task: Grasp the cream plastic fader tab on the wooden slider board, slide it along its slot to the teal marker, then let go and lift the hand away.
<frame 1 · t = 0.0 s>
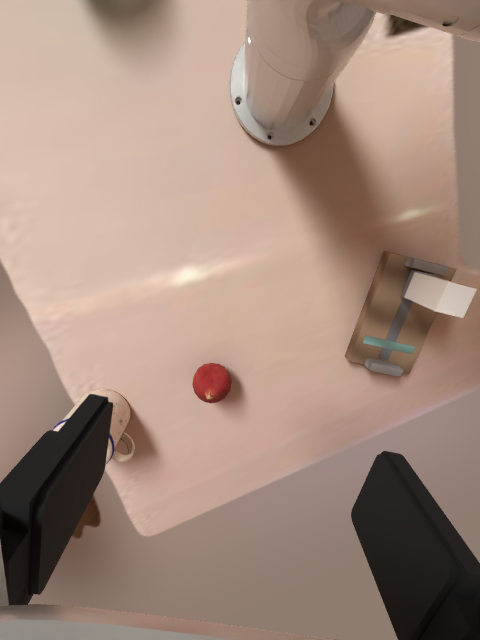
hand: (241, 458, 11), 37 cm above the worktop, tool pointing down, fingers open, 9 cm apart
fader: (433, 292, 40), point 7 cm above the worktop, slide at -5.0 cm
onion: (213, 370, 51), on the worktop
teacup with lid: (113, 414, 53), on the worktop
wooden slider board: (393, 313, 48), on the worktop
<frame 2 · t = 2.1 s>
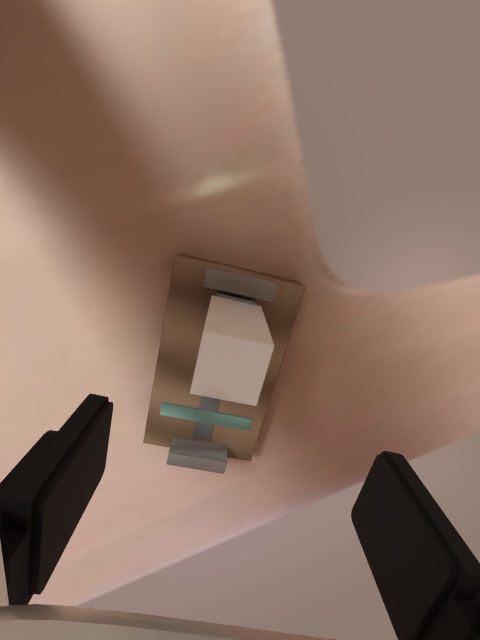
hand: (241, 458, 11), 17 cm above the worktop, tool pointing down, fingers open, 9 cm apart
fader: (230, 338, 20), point 7 cm above the worktop, slide at -5.0 cm
wooden slider board: (218, 360, 28), on the worktop
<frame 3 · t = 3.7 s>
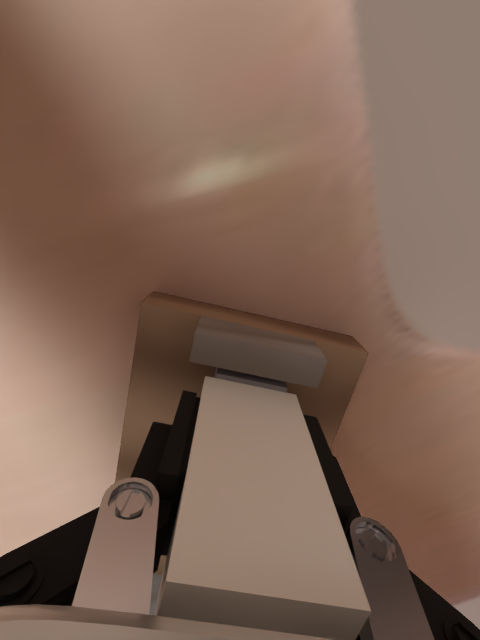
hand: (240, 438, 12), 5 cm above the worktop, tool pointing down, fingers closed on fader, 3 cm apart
fader: (241, 477, 10), point 7 cm above the worktop, slide at -5.0 cm, touching gripper
wooden slider board: (218, 453, 18), on the worktop
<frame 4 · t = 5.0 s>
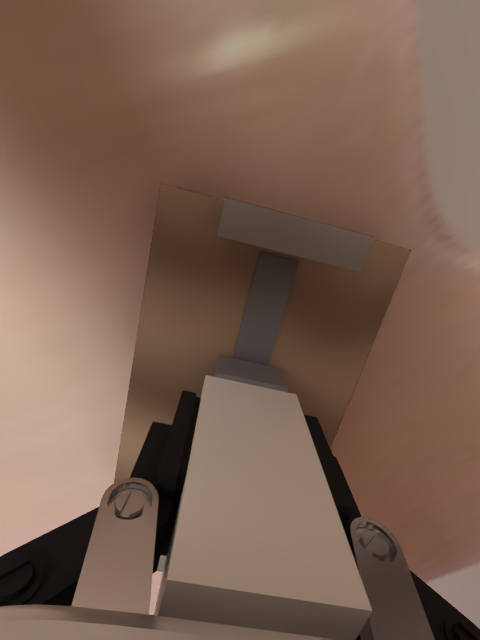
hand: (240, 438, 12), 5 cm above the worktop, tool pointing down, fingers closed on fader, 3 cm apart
fader: (241, 476, 10), point 7 cm above the worktop, slide at -0.4 cm, touching gripper
wooden slider board: (237, 383, 16), on the worktop
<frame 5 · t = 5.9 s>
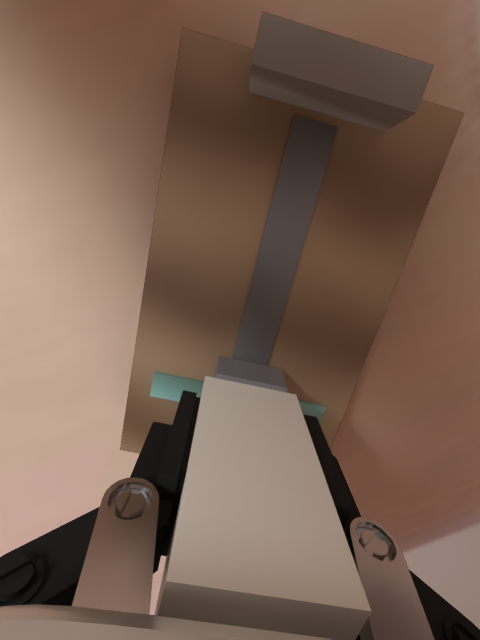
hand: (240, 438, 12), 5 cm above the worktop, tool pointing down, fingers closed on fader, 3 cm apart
fader: (241, 477, 10), point 7 cm above the worktop, slide at 4.4 cm, touching gripper
wooden slider board: (260, 297, 15), on the worktop
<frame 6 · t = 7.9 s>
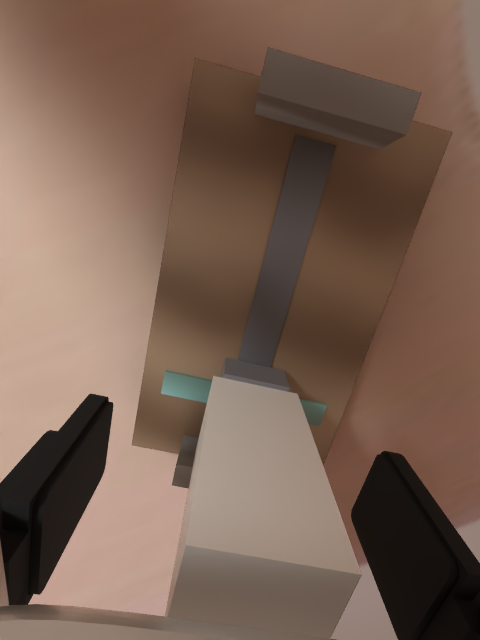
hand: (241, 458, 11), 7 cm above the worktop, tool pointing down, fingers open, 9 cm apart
fader: (247, 468, 11), point 7 cm above the worktop, slide at 4.5 cm
wooden slider board: (264, 301, 16), on the worktop
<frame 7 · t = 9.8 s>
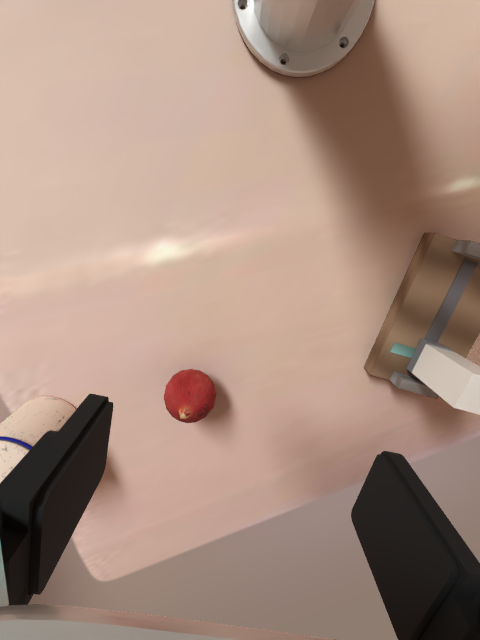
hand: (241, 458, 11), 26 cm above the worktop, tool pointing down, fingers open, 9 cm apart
fader: (449, 373, 32), point 7 cm above the worktop, slide at 4.5 cm
onion: (194, 379, 39), on the worktop
teacup with lid: (62, 429, 41), on the worktop
wooden slider board: (430, 315, 37), on the worktop
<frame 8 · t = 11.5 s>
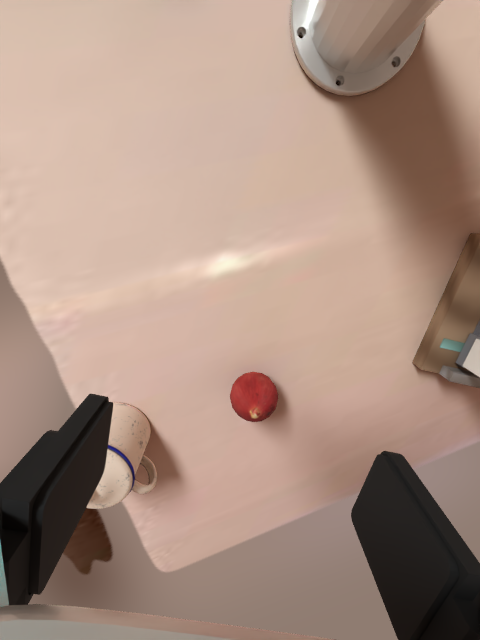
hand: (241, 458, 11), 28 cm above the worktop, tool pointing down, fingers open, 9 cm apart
onion: (252, 380, 42), on the worktop
teacup with lid: (129, 432, 44), on the worktop
wooden slider board: (475, 311, 39), on the worktop
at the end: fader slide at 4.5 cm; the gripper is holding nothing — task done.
